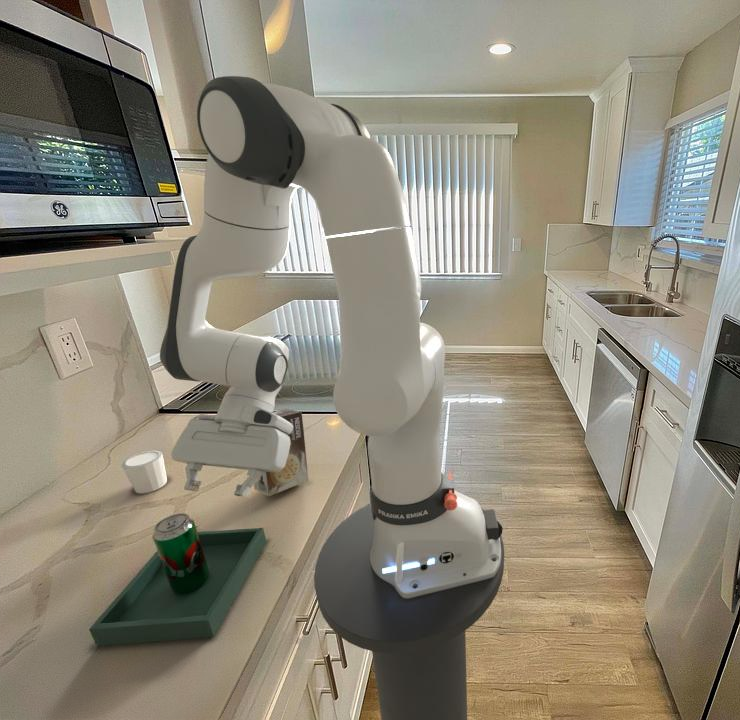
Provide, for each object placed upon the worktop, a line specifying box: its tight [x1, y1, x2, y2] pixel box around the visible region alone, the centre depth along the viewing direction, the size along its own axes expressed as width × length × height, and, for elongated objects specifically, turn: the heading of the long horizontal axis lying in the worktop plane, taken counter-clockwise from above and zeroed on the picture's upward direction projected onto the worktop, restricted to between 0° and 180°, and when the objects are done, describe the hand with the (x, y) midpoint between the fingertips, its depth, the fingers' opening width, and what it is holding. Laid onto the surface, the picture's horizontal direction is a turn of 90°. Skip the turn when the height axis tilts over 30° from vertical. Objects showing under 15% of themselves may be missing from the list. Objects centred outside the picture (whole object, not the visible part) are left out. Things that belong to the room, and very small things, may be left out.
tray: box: [88, 527, 267, 647], centre depth 63 cm, size 16×18×3 cm
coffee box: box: [253, 408, 309, 497], centre depth 85 cm, size 9×6×16 cm
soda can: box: [152, 512, 209, 594], centre depth 61 cm, size 5×5×12 cm
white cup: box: [121, 450, 168, 494], centre depth 87 cm, size 7×7×7 cm
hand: (215, 493), depth 69 cm, fingers open, 8 cm apart
